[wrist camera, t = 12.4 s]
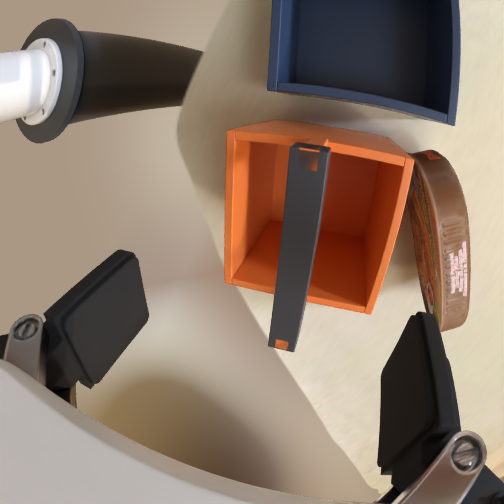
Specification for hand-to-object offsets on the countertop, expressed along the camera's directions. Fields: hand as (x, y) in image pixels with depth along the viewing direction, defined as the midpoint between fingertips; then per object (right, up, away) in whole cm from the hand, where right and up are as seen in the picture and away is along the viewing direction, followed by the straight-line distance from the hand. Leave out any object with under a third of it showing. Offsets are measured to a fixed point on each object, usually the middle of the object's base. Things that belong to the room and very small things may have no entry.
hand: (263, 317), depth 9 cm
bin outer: (+9, +19, +8) cm, 22 cm away
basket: (+6, +8, +15) cm, 18 cm away
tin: (+15, +4, +14) cm, 21 cm away
